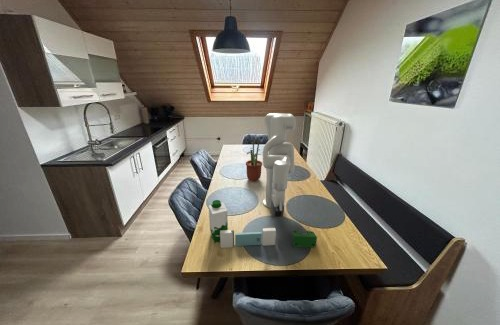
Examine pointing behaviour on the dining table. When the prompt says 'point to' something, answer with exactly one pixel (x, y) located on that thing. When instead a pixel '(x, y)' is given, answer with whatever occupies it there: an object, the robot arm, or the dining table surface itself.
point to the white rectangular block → (228, 237)
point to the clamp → (304, 239)
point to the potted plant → (254, 165)
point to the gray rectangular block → (275, 210)
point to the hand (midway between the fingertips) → (277, 212)
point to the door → (248, 238)
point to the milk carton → (217, 219)
